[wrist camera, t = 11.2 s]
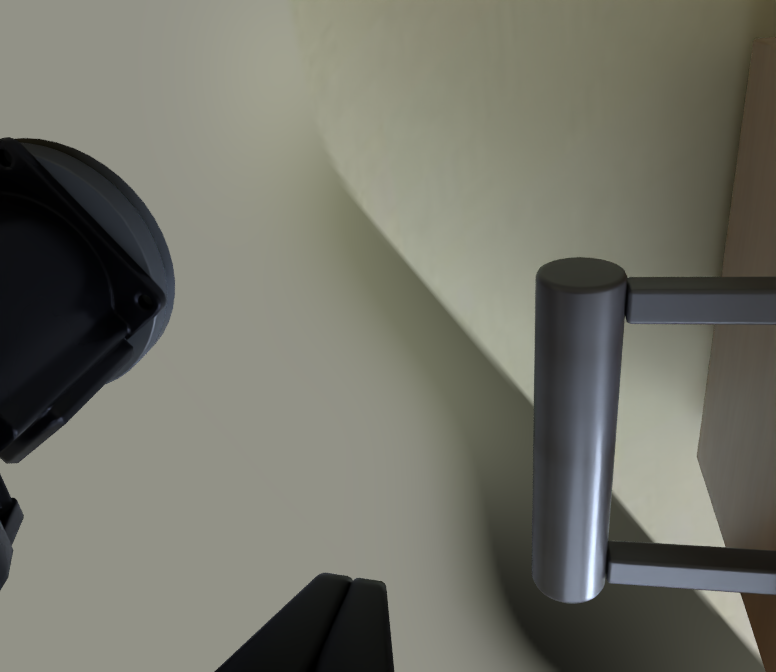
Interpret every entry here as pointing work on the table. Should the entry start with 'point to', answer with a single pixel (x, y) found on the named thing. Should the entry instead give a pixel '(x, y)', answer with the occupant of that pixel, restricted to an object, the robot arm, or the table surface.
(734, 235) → the drawer
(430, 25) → the table surface
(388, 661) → the robot arm
